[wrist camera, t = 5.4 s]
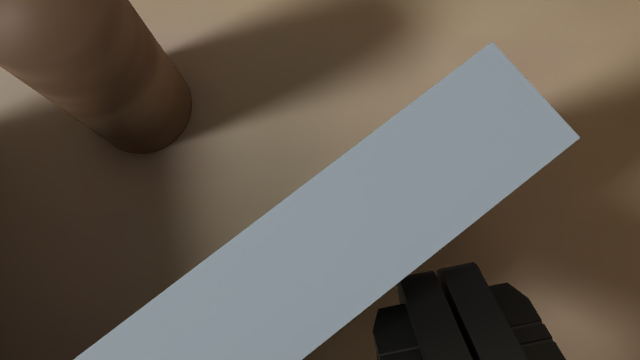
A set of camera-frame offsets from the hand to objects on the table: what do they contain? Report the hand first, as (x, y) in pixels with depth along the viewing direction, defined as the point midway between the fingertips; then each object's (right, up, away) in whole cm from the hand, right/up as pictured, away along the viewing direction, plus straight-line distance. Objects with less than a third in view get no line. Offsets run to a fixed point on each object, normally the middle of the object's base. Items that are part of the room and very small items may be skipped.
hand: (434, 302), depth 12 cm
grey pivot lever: (-4, -2, +4) cm, 7 cm away
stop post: (-8, +5, +6) cm, 11 cm away
